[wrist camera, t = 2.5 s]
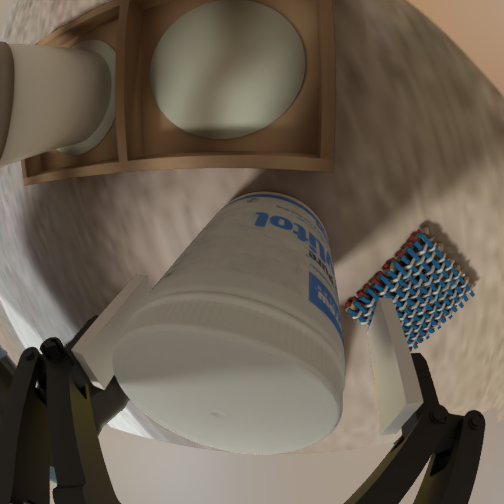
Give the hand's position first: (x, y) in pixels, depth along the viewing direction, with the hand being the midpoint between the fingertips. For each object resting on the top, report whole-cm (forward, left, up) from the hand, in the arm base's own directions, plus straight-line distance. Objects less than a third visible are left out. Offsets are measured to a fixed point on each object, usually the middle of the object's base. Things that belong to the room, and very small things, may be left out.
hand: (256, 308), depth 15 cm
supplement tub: (0, 0, -8) cm, 8 cm away
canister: (-17, +14, -7) cm, 23 cm away
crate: (-10, +14, -8) cm, 19 cm away
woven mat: (+14, -4, -9) cm, 17 cm away
